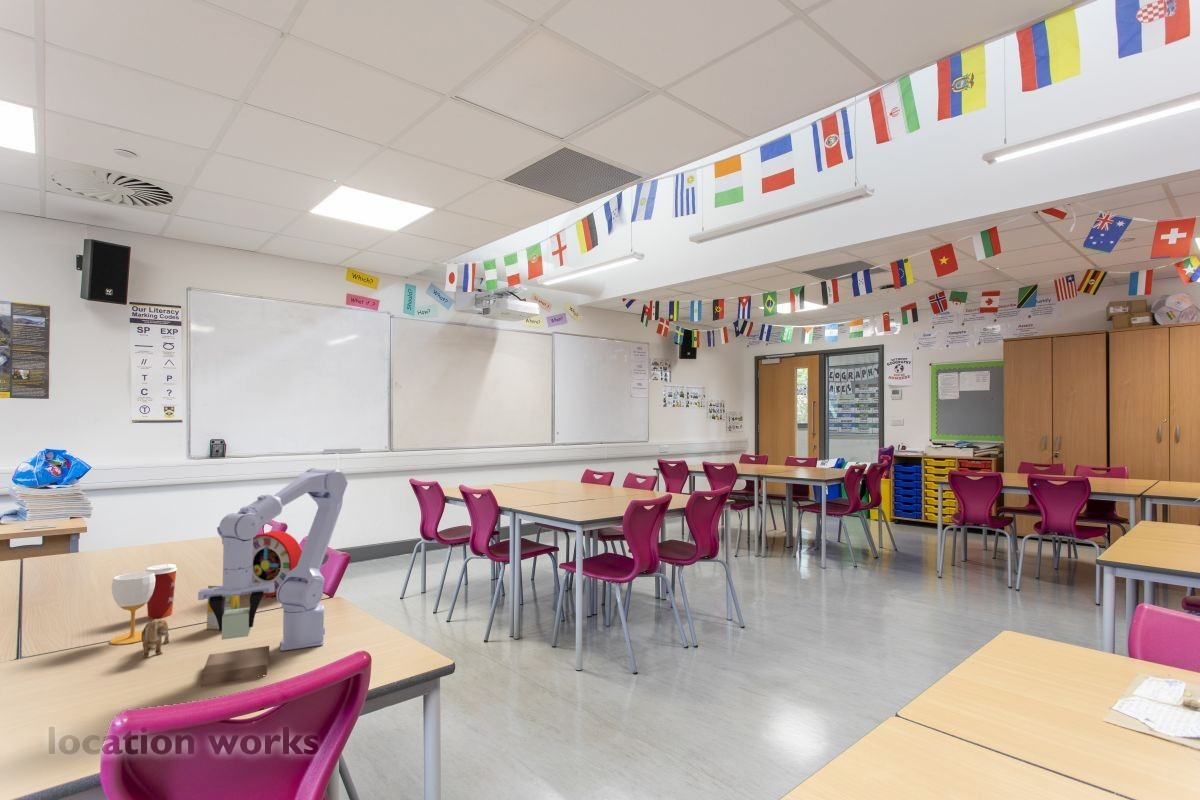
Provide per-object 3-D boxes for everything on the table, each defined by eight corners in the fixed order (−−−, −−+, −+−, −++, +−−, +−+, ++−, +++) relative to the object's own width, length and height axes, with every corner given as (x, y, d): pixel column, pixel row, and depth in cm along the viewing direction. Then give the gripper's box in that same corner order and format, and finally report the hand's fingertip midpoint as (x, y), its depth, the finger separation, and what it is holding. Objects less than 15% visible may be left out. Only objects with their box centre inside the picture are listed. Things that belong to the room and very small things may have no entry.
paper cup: (181, 614, 171) (182, 565, 171) (150, 621, 164) (151, 571, 165) (169, 609, 175) (170, 562, 175) (138, 616, 168) (139, 567, 169)
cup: (102, 641, 150) (104, 577, 150) (143, 630, 158) (145, 569, 158) (120, 647, 145) (122, 581, 146) (161, 635, 153) (163, 573, 154)
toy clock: (235, 595, 189) (236, 533, 190) (249, 590, 195) (250, 529, 195) (291, 598, 186) (292, 534, 186) (303, 593, 191) (304, 531, 192)
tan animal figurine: (168, 658, 139) (169, 619, 139) (139, 663, 136) (140, 624, 136) (169, 639, 151) (170, 604, 151) (143, 644, 148) (144, 607, 148)
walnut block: (269, 658, 140) (269, 645, 140) (266, 678, 129) (266, 664, 129) (208, 667, 134) (209, 654, 134) (201, 689, 123) (201, 674, 124)
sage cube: (250, 629, 135) (251, 607, 136) (248, 636, 131) (248, 613, 131) (225, 632, 133) (225, 610, 134) (221, 639, 129) (222, 616, 129)
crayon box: (239, 626, 160) (240, 583, 161) (231, 630, 157) (232, 586, 158) (214, 625, 161) (215, 582, 162) (206, 629, 158) (207, 585, 159)
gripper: (195, 574, 126) (194, 638, 126) (273, 567, 132) (271, 628, 132) (202, 567, 132) (200, 628, 132) (275, 560, 139) (274, 619, 138)
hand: (236, 627), depth 132 cm, fingers closed on sage cube, 5 cm apart
